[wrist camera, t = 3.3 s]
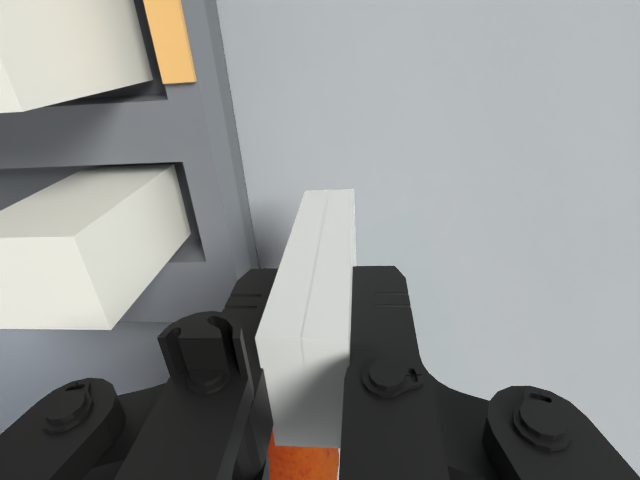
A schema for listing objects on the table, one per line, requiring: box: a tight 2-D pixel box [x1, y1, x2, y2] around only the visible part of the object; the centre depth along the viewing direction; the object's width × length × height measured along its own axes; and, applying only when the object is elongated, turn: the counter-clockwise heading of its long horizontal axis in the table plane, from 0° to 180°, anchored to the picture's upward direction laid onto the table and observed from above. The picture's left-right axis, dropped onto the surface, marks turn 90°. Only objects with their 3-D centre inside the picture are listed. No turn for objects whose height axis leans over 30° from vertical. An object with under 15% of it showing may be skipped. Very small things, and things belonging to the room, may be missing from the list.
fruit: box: [267, 430, 339, 480], centre depth 20 cm, size 9×9×8 cm
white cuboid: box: [0, 0, 153, 113], centre depth 10 cm, size 3×4×6 cm
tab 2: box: [0, 164, 191, 330], centre depth 13 cm, size 3×4×6 cm
